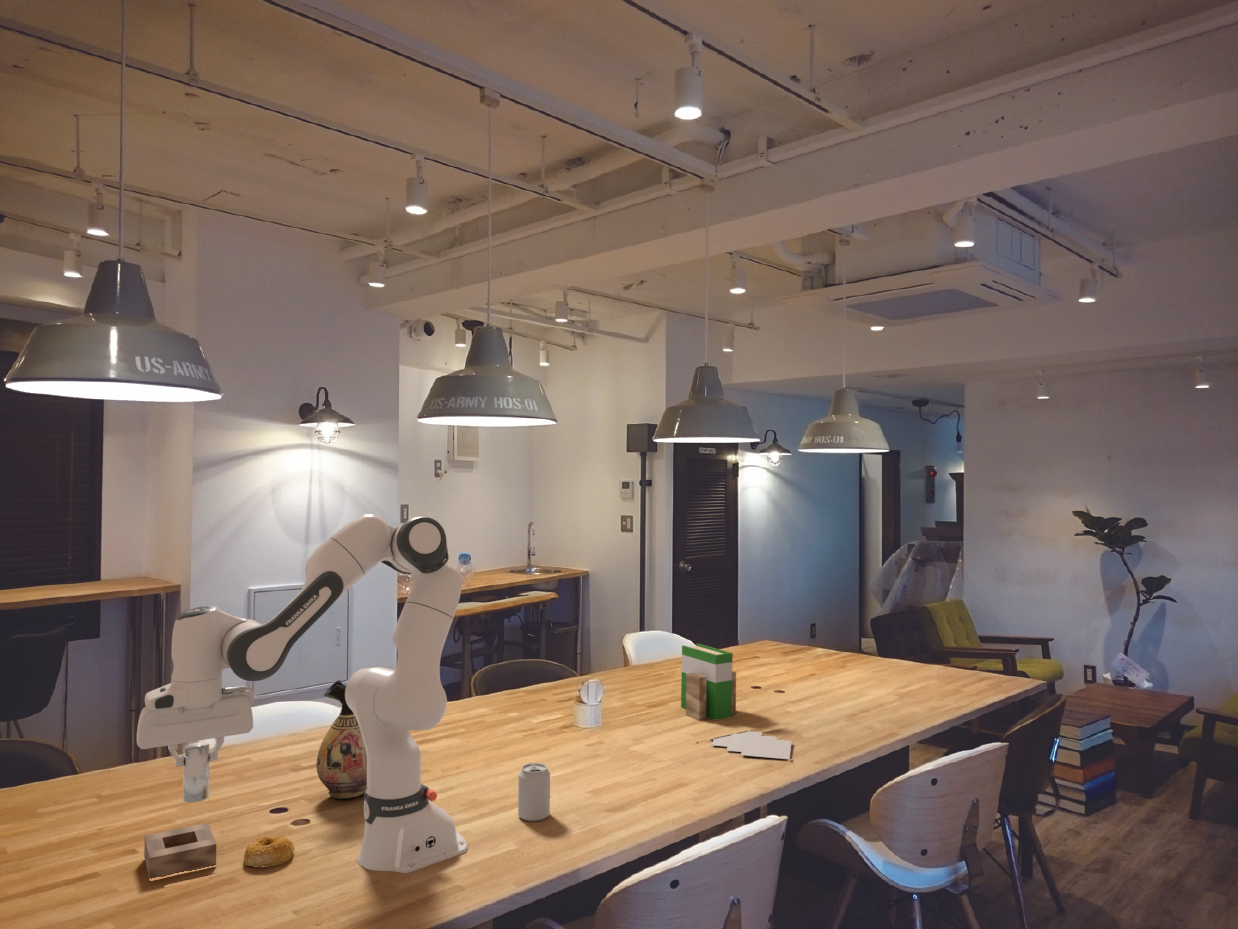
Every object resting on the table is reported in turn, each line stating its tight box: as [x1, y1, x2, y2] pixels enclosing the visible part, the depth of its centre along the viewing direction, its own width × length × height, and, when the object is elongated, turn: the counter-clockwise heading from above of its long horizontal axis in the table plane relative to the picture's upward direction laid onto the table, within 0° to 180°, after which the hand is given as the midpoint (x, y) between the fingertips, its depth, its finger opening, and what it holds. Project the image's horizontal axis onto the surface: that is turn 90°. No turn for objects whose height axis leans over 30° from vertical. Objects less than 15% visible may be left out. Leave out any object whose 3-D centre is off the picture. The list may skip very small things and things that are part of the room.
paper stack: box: [711, 730, 792, 760], centre depth 256 cm, size 23×25×1 cm
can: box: [517, 762, 551, 822], centre depth 200 cm, size 8×8×12 cm
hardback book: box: [680, 643, 734, 721], centre depth 288 cm, size 18×7×24 cm, turn 35°
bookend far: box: [731, 670, 737, 715], centre depth 289 cm, size 3×7×14 cm, turn 33°
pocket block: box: [143, 822, 217, 880], centre depth 175 cm, size 12×12×5 cm
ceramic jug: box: [316, 679, 367, 799], centre depth 214 cm, size 17×15×30 cm
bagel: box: [243, 835, 295, 868], centre depth 177 cm, size 10×11×5 cm
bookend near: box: [685, 672, 707, 721], centre depth 282 cm, size 3×7×14 cm, turn 34°
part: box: [182, 741, 210, 803], centre depth 164 cm, size 4×4×10 cm
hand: (196, 762), depth 164 cm, fingers closed on part, 4 cm apart
